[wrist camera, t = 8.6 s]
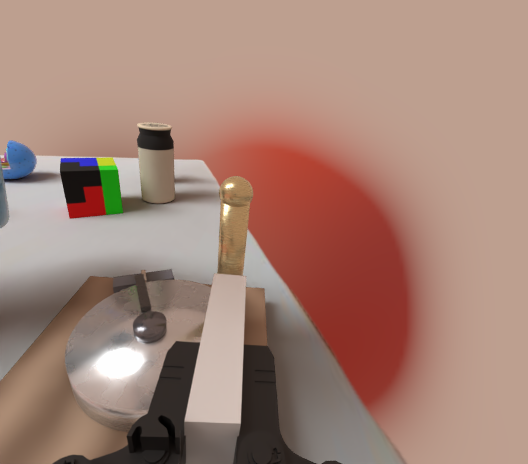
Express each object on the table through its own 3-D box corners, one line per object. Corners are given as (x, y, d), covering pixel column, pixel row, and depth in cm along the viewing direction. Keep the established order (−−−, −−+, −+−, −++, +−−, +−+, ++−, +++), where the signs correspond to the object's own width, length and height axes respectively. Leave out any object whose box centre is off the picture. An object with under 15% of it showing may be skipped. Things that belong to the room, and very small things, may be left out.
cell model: (-12, 173, 76) (-24, 135, 72) (43, 172, 81) (35, 137, 77) (-26, 185, 68) (-40, 144, 64) (36, 183, 73) (26, 145, 69)
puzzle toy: (69, 201, 67) (60, 158, 62) (117, 197, 72) (112, 157, 67) (69, 218, 59) (59, 171, 55) (123, 213, 64) (117, 169, 60)
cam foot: (64, 471, 20) (-24, 246, 12) (76, 311, 33) (37, 151, 25) (270, 386, 28) (303, 212, 19) (213, 282, 41) (218, 152, 32)
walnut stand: (-85, 525, 19) (-129, 481, 17) (93, 293, 41) (86, 258, 38) (270, 526, 21) (282, 487, 18) (261, 304, 42) (266, 271, 40)
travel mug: (178, 203, 73) (176, 129, 65) (144, 205, 69) (138, 127, 61) (171, 192, 79) (169, 123, 71) (140, 194, 75) (134, 121, 67)
